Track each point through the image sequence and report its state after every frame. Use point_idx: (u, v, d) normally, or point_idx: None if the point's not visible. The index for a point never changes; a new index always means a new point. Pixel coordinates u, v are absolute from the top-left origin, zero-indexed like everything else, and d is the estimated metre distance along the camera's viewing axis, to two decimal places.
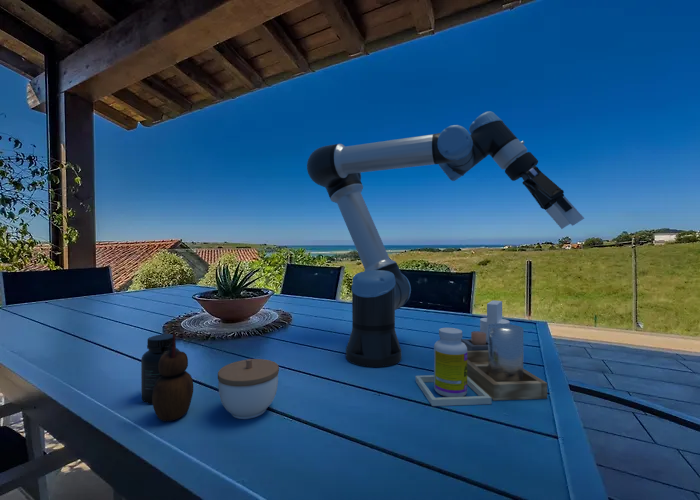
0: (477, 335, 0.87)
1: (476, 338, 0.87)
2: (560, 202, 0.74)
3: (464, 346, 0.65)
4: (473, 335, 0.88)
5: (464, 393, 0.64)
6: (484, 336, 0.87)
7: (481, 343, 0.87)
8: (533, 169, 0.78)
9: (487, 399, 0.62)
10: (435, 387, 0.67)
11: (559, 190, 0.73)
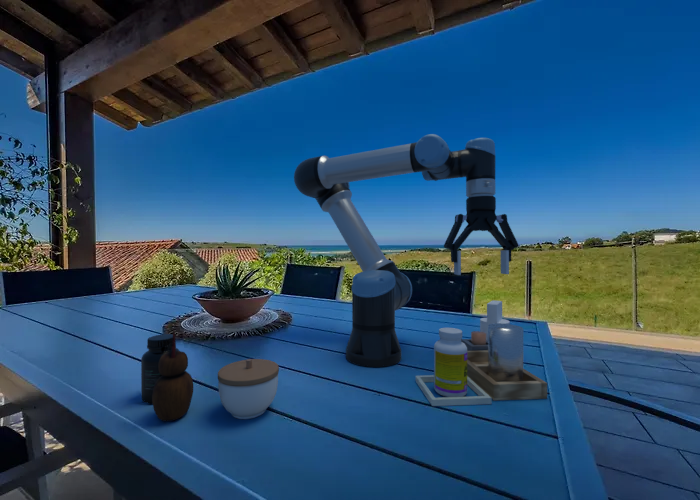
0: (477, 335, 0.87)
1: (476, 338, 0.87)
2: (451, 253, 0.88)
3: (464, 346, 0.65)
4: (473, 335, 0.88)
5: (464, 393, 0.64)
6: (484, 336, 0.87)
7: (481, 343, 0.87)
8: (457, 216, 0.87)
9: (487, 399, 0.62)
10: (435, 387, 0.67)
11: (447, 244, 0.87)
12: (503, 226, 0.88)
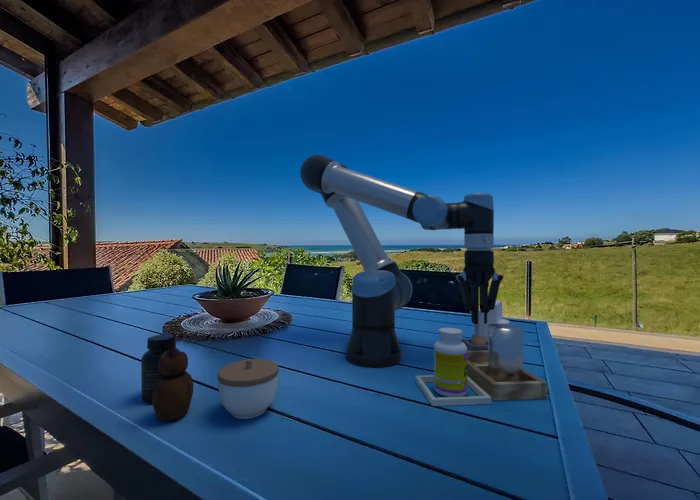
0: (477, 338, 0.87)
1: (476, 341, 0.87)
2: (472, 314, 0.89)
3: (464, 346, 0.65)
4: (473, 338, 0.88)
5: (464, 393, 0.64)
6: (484, 339, 0.87)
7: None
8: (457, 278, 0.88)
9: (487, 399, 0.62)
10: (435, 387, 0.67)
11: (467, 306, 0.88)
12: (493, 284, 0.88)
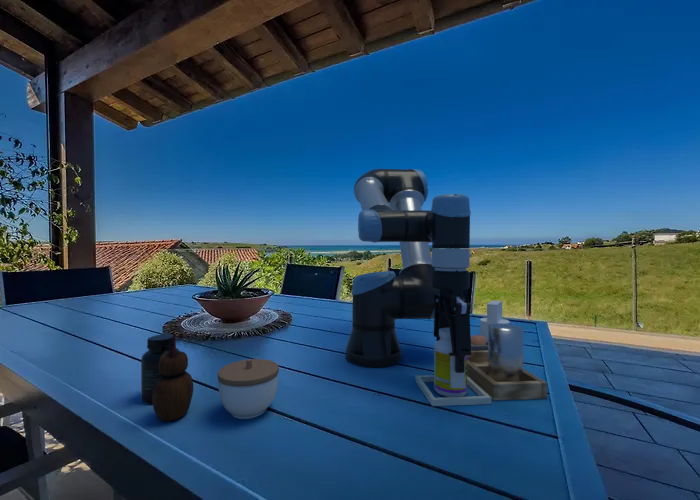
0: (477, 339, 0.87)
1: (476, 342, 0.87)
2: (459, 360, 0.62)
3: None
4: (473, 339, 0.88)
5: (464, 393, 0.64)
6: (484, 340, 0.87)
7: None
8: (466, 307, 0.60)
9: (487, 399, 0.62)
10: (435, 387, 0.67)
11: (468, 350, 0.60)
12: None
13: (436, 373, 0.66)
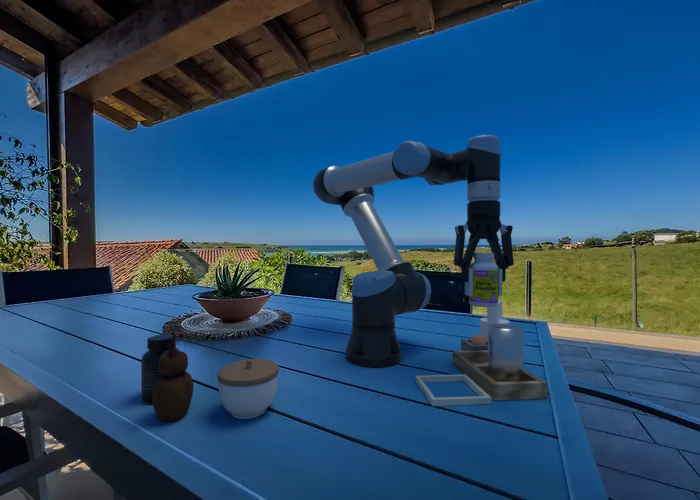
0: (477, 339, 0.87)
1: (476, 342, 0.87)
2: (462, 271, 0.79)
3: (480, 265, 0.76)
4: (473, 339, 0.88)
5: (475, 303, 0.77)
6: (484, 340, 0.87)
7: None
8: (457, 228, 0.78)
9: (487, 399, 0.62)
10: None
11: (457, 262, 0.77)
12: (504, 238, 0.79)
13: None
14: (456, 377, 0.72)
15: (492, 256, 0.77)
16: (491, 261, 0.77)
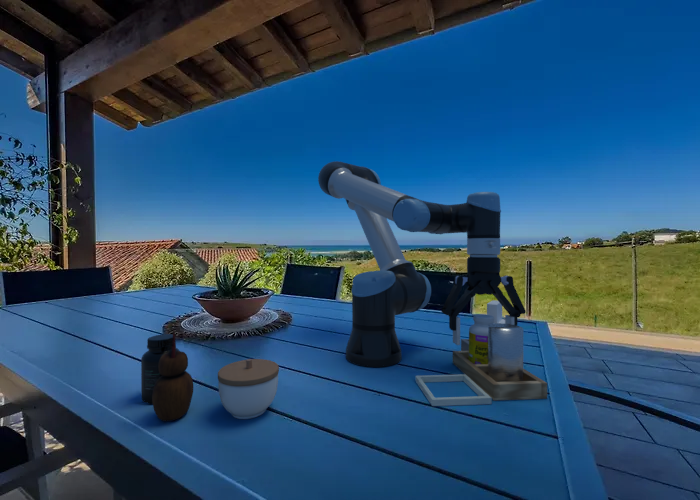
0: None
1: None
2: (450, 319, 0.79)
3: (479, 329, 0.76)
4: None
5: None
6: None
7: None
8: (456, 278, 0.78)
9: (487, 399, 0.62)
10: None
11: (444, 310, 0.77)
12: (508, 289, 0.79)
13: None
14: (456, 377, 0.72)
15: (492, 321, 0.77)
16: None
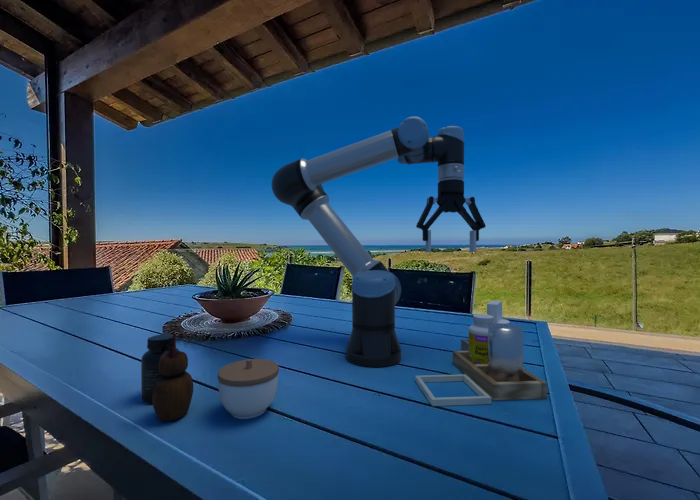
0: None
1: None
2: (423, 232, 0.95)
3: (479, 329, 0.76)
4: None
5: None
6: None
7: None
8: (428, 198, 0.95)
9: (487, 399, 0.62)
10: None
11: (418, 224, 0.94)
12: (471, 208, 0.96)
13: None
14: (456, 377, 0.72)
15: (492, 321, 0.77)
16: None
